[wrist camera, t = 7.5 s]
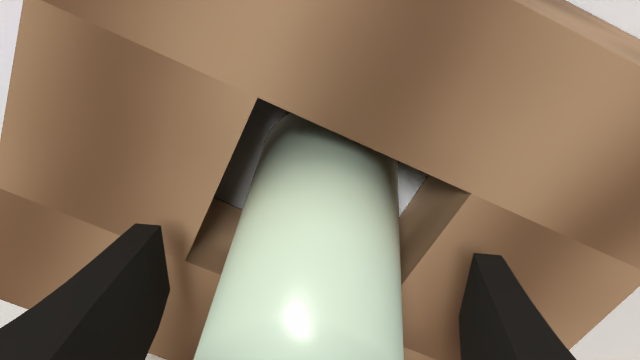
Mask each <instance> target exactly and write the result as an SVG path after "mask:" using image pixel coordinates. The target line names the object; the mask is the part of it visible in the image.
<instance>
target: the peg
mask: <svg viewBox="0 0 640 360" xmlns="http://www.w3.org/2000/svg"><path fill="white" fill-rule="evenodd" d="M193 360H404V353H403V323H402V294H401V264H400V235H399V205H398V176H397V160H395V159H393V158H391V157H389V156H387V155H384V154H382V153H380V152H378V151H375V150H373V149H371V148H369V147H367V146H364V145H362V144H360V143H358V142H355V141H353V140H351V139H349V138H347V137H344V136H342V135H340V134H338V133H335V132H333V131H331V130H329V129H326V128H324V127H322V126H320V125H318V124H315V123H313V122H311V121H309V120H306V119H304V118H302V117H300V116H298V115H295V114H293V113H289V114H288V115H286V116H285V117H283V118H282V119H281V120H280V121H279V122H278V123H277V124H276V125H275V126H274V127H273V128H272V130H271V131H270V133H269V134H268V136H267V138H266V141H265V143H264V146H263V149H262V152H261V155H260V158H259V161H258V164H257V167H256V170H255V174H254V177H253V180H252V183H251V186H250V189H249V192H248V195H247V198H246V201H245V204H244V207H243V210H242V213H241V216H240V219H239V222H238V225H237V228H236V231H235V234H234V237H233V241H232V244H231V247H230V250H229V253H228V256H227V259H226V262H225V265H224V268H223V271H222V274H221V277H220V280H219V283H218V286H217V289H216V292H215V295H214V298H213V301H212V305H211V308H210V311H209V314H208V317H207V320H206V323H205V326H204V329H203V332H202V335H201V338H200V341H199V344H198V347H197V350H196V353H195V356H194V359H193Z"/></svg>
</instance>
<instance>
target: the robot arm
mask: <svg viewBox="0 0 640 360" xmlns="http://www.w3.org/2000/svg"><path fill="white" fill-rule="evenodd" d="M169 292H170V284H169V277H168V271H167V264H166V257H165V250H164V243H163V236H162V229H161V225H150V224H138V223H135V224H134V225H133V226H132V227H130V228H129V229H128V230H127V231H126V232H124V233H123V234H122V235H121V236H120V237H119V238H117V239H116V240H115V241H114V242H113V243H112V244H110V245H109V246H108V247H107V248H106V249H105V250H103V251H102V252H101V253H100V254H99V255H98V256H97V257H95V258H94V259H93V260H92V261H91V262H89V263H88V264H87V265H86V266H85V267H83V268H82V269H81V270H80V271H79V272H77V273H76V274H75V275H74V276H73V277H71V278H70V279H69V280H68V281H66V282H65V283H64V284H63V285H61V286H60V287H59V288H57V289H56V290H55V291H53V292H52V293H51V294H49V295H48V296H47V297H45V298H44V299H43V300H41V301H40V302H39V303H37V304H36V305H35V306H33V307H32V308H30V309H29V310H28V311H26V312H25V313H23V314H22V315H20V316H19V317H17V318H16V319H14V320H13V321H11V322H9V323H8V324H6V325H5V326H3V327H2V328H0V360H145V358H146V356H147V354H148V351H149V349H150V347H151V345H152V342H153V340H154V338H155V335H156V333H157V331H158V329H159V325H160V322H161V319H162V316H163V313H164V310H165V306H166V303H167V299H168V296H169ZM459 335H460V351H461V360H576V359H575V357H574V356H573V355H572V354H571V353H570V351H569V350H568V349H567V348H566V347H565V345H564V344H563V343H562V341H561V340H560V339H559V338H558V336H557V335H556V334H555V332H554V331H553V330H552V328H551V327H550V326H549V324H548V323H547V322H546V320H545V319H544V318H543V316H542V315H541V313H540V312H539V311H538V309H537V308H536V306H535V305H534V304H533V302H532V301H531V299H530V298H529V296H528V295H527V293H526V292H525V290H524V289H523V287H522V286H521V284H520V283H519V281H518V280H517V278H516V277H515V275H514V273H513V272H512V270H511V269H510V267H509V266H508V264H507V262H506V261H505V259H504V258H503V257H502V256H501V255H493V254H481V253H473V258H472V262H471V266H470V270H469V275H468V279H467V283H466V287H465V292H464V296H463V300H462V304H461V308H460V313H459Z"/></svg>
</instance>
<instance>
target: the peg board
mask: <svg viewBox="0 0 640 360" xmlns="http://www.w3.org/2000/svg"><path fill="white" fill-rule="evenodd" d="M257 98H260V99H262V100H264V101H266V102H269V103H271V104H273V105H275V106H278V107H280V108H282V109H284V110H286V111H289V112H291V113H293V114H295V115H298V116H300V117H302V118H304V119H306V120H309V121H311V122H313V123H315V124H318V125H320V126H322V127H324V128H326V129H329V130H331V131H333V132H335V133H338V134H340V135H342V136H344V137H347V138H349V139H351V140H353V141H355V142H358V143H360V144H362V145H364V146H367V147H369V148H371V149H373V150H375V151H378V152H380V153H382V154H384V155H387V156H389V157H391V158H393V159H395V160H398V161H400V162H402V163H404V164H407V165H409V166H411V167H413V168H415V169H418V170H420V171H422V172H424V173H427V174H429V175H428V177H427V178H426V180H425V181H424V183H423V184H422V186H421V187H420V188H419V190H418V191H417V193H416V194H415V196H414V197H413V198H412V200H411V201H410V203H409V204H408V206H407V207H406V209H405V210H404V211H403V213H402V214H401V216H400V217H399V235H400V264H401V294H402V323H403V353H404V360H461V351H460V335H459V313H460V308H461V304H462V300H463V296H464V292H465V287H466V283H467V279H468V275H469V270H470V266H471V262H472V258H473V253H481V254H493V255H501V256H502V257H503V258H504V259H505V261H506V262H507V264H508V266H509V267H510V269H511V270H512V272H513V273H514V275H515V277H516V278H517V280H518V281H519V283H520V284H521V286H522V287H523V289H524V290H525V292H526V293H527V295H528V296H529V298H530V299H531V301H532V302H533V304H534V305H535V306H536V308H537V309H538V311H539V312H540V313H541V315H542V316H543V318H544V319H545V320H546V322H547V323H548V324H549V326H550V327H551V328H552V330H553V331H554V332H555V334H556V335H557V336H558V338H559V339H560V340H561V341H562V343H563V344H564V345H565V347H566V348H567V349H568V350H569V349H571V348H572V347H573V346H574V345H575V344H576V343H577V342H578V341H579V340H581V339H582V338H583V337H584V336H585V335H586V334H587V333H588V332H589V331H590V330H592V329H593V328H594V327H595V326H596V325H597V324H598V323H599V322H600V321H601V320H603V319H604V318H605V317H606V316H607V315H608V314H609V313H610V312H611V311H612V310H614V309H615V308H616V307H617V306H618V305H619V304H620V303H621V302H622V301H623V300H625V299H626V298H627V297H628V296H629V295H630V294H631V293H632V292H633V291H634V290H636V289H637V288H638V287H639V286H640V39H638V38H636V37H634V36H632V35H630V34H628V33H626V32H624V31H622V30H621V29H619V28H617V27H615V26H613V25H611V24H609V23H607V22H605V21H603V20H602V19H600V18H598V17H596V16H594V15H592V14H590V13H588V12H586V11H584V10H583V9H581V8H579V7H577V6H575V5H573V4H571V3H569V2H567V1H565V0H23V6H22V12H21V18H20V24H19V30H18V36H17V42H16V48H15V54H14V60H13V66H12V73H11V79H10V85H9V91H8V97H7V103H6V109H5V115H4V121H3V127H2V133H1V139H0V299H1V300H4V301H6V302H9V303H12V304H15V305H17V306H20V307H23V308H26V309H30V308H32V307H33V306H35V305H36V304H37V303H39V302H40V301H41V300H43V299H44V298H45V297H47V296H48V295H49V294H51V293H52V292H53V291H55V290H56V289H57V288H59V287H60V286H61V285H63V284H64V283H65V282H66V281H68V280H69V279H70V278H71V277H73V276H74V275H75V274H76V273H77V272H79V271H80V270H81V269H82V268H83V267H85V266H86V265H87V264H88V263H89V262H91V261H92V260H93V259H94V258H95V257H97V256H98V255H99V254H100V253H101V252H102V251H103V250H105V249H106V248H107V247H108V246H109V245H110V244H112V243H113V242H114V241H115V240H116V239H117V238H119V237H120V236H121V235H122V234H123V233H124V232H126V231H127V230H128V229H129V228H130V227H132V226H133V225H134V224H135V223H138V224H150V225H161V229H162V236H163V243H164V250H165V257H166V264H167V271H168V277H169V284H170V292H169V296H168V299H167V303H166V306H165V310H164V313H163V316H162V319H161V322H160V325H159V329H158V331H157V333H156V335H155V338H154V340H153V342H152V345H151V347H150V349H149V351H148V353H150V354H153V355H156V356H158V357H161V358H164V359H167V360H193V359H194V356H195V353H196V350H197V347H198V344H199V341H200V338H201V335H202V332H203V329H204V326H205V323H206V320H207V317H208V314H209V311H210V308H211V305H212V301H213V298H214V295H215V292H216V289H217V286H218V283H219V280H220V277H221V274H222V271H223V268H224V265H225V262H226V259H227V256H228V253H229V250H230V247H231V244H232V241H233V237H234V234H235V231H236V228H237V225H238V222H239V219H240V216H241V213H242V210H241V209H239V208H237V207H234V206H232V205H229V204H227V203H224V202H222V201H220V200H217V199H215V198H213V197H214V195H215V192H216V190H217V188H218V186H219V183H220V181H221V179H222V177H223V174H224V172H225V170H226V168H227V165H228V163H229V161H230V159H231V156H232V154H233V152H234V150H235V147H236V145H237V143H238V141H239V138H240V136H241V134H242V132H243V129H244V127H245V125H246V123H247V120H248V118H249V116H250V114H251V111H252V109H253V107H254V105H255V102H256V100H257Z"/></svg>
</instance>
